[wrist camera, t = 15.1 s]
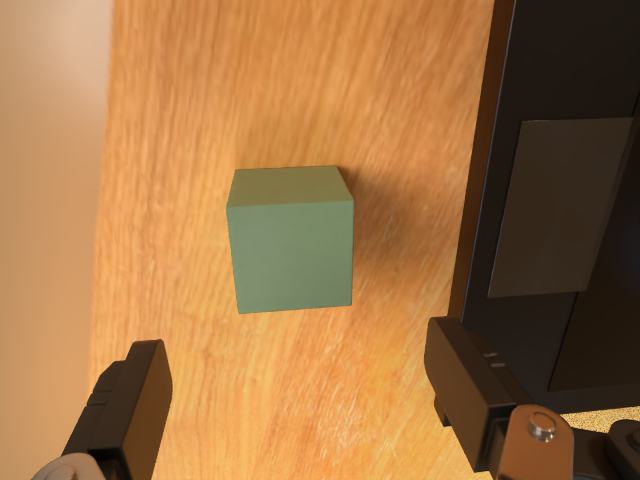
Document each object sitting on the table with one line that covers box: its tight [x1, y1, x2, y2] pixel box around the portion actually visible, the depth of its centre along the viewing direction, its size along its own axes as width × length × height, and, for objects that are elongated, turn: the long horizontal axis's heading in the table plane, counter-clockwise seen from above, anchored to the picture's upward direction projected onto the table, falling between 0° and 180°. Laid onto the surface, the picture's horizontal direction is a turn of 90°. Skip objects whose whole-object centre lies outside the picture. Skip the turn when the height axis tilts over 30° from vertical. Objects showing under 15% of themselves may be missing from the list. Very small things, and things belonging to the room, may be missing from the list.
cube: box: [226, 166, 355, 314], centre depth 19 cm, size 5×5×5 cm
